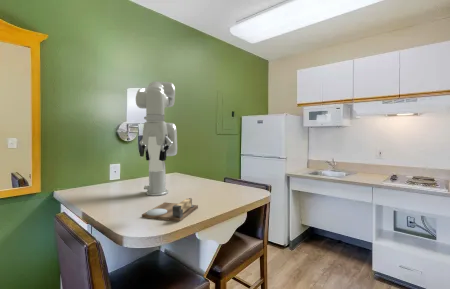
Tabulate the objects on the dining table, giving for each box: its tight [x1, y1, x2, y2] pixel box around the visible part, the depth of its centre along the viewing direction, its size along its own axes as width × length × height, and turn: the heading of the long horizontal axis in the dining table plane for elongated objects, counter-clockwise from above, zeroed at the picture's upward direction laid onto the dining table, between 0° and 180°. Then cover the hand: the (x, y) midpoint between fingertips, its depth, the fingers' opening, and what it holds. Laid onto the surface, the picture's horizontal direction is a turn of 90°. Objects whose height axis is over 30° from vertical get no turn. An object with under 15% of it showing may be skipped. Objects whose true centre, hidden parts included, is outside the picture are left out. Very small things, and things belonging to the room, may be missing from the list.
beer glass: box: [147, 136, 163, 172], centre depth 106 cm, size 7×7×15 cm
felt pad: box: [145, 208, 167, 216], centre depth 108 cm, size 9×9×1 cm
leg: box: [173, 198, 191, 216], centre depth 107 cm, size 14×3×4 cm, turn 165°
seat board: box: [141, 197, 199, 222], centre depth 111 cm, size 18×19×5 cm
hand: (156, 159), depth 107 cm, fingers closed on beer glass, 6 cm apart
